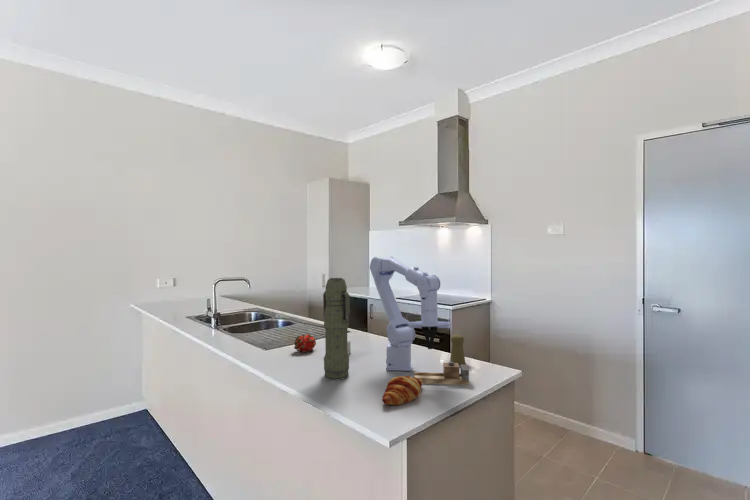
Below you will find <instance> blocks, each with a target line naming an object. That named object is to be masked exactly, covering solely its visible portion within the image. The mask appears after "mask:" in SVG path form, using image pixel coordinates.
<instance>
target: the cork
mask: <svg viewBox="0 0 750 500" xmlns="http://www.w3.org/2000/svg"><path fill="white" fill-rule="evenodd" d="M450 341H451V342H450V343H451V350H450V360H449V362H454V363H458V364H459V366H461V364H463V365H466V358H465V357H466V356H465V352H464V350H465V349H464V343H465V337H464V335H461V334H453V335H451V337H450Z"/></svg>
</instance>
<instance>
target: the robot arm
mask: <svg viewBox="0 0 750 500" xmlns="http://www.w3.org/2000/svg"><path fill="white" fill-rule="evenodd" d="M368 268H369V269H370V270H369V271H370V273H371V277H372V278H373V281H374V285H375V287H376V290H377V292H378V295H379V298H380V301H381V303H382V305H383V308H384V310H385V313H386V316H387V319H388V321H389V322H388V324H387V325H386V328H385V330H386V333H387V340H388V343H387V344H386V359H385V363H386V370H387V371H405V372H409V371H410V372H412V371H413V363H412V344H413V342H414V340H415V338H416V331H415V329H421V331H422V334H423V336H424V339H425V341H426V344H427V345H426V346H427V350H433V344H434V340H435V338H436V336H437V333H438V329H451V326H452V325H451V322H450V321H439V320H438V317H439V316H438V291H439V290H440V288H441V280H440V278H439V277H438V276H437V275H436V274H432V275H429V273H428V272H426V271H422V270H421V269H419V267H418V266H412V267H409V266H407V265H406V264H404V263H403V262H401V261H400V260H398V258H397V257H394V256H379V257H377V256H374V257H372V259H371V260H370V264H369V267H368ZM395 272H396V273H398V274H400V275H403V277H404V278H405V280H406V281H407V282H408V283H410V284H412V286H415V287H416V288H417V290H418V293H419V297H420V319H421V320H419V321H409V320H408V319H407V318H405V317H403V314H402V312H401V309H400V308H399V304H398V302H397V299H396V297H395V295H394V292H393V290H392V287H391V284H390V280H391V279H392V278H393V276H394V274H395Z"/></svg>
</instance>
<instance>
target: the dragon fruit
mask: <svg viewBox="0 0 750 500" xmlns="http://www.w3.org/2000/svg"><path fill="white" fill-rule="evenodd" d="M316 345H317V341H316V339H315V337H314V335H313V336H312V335H311V334H310V333H307V334H302V335H297V337H296V338H295V340H294V347H293V348H294V349H295V350H296V351H297V352H299V353H301V354H302V353H304V352H305V353H310V352H312V351H314V348H315V347H316Z"/></svg>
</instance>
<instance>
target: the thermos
mask: <svg viewBox="0 0 750 500" xmlns="http://www.w3.org/2000/svg"><path fill="white" fill-rule="evenodd" d="M347 286H348V285H347V283H346V280H345V278H343V277H330V278H328V279H327V280H326V284H325V291H324V292H323V294H322V297H323V298H322V301H323V303H322V304H323V316H322V317H323V328H324V329H325V333H324V334H325V335H324V336H325V338H324V339H325V345H324V346H325V354H324V357H323V370H324V378H325V377H326V378H325V379H327V378H328V379H327V380H330V379H335V380H334V381H337V380H336V379H340V380H343V379H344V380H345V379H347V378H349V373H350V372H349V369H350V355H348V353H347V341H348V328H349V325H350V324H349V323H350V319H351V318H350V317H351V307H350V306H351V296H350V294H349V292H348V291H347V289H348V288H347ZM346 377H347V378H346Z"/></svg>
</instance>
